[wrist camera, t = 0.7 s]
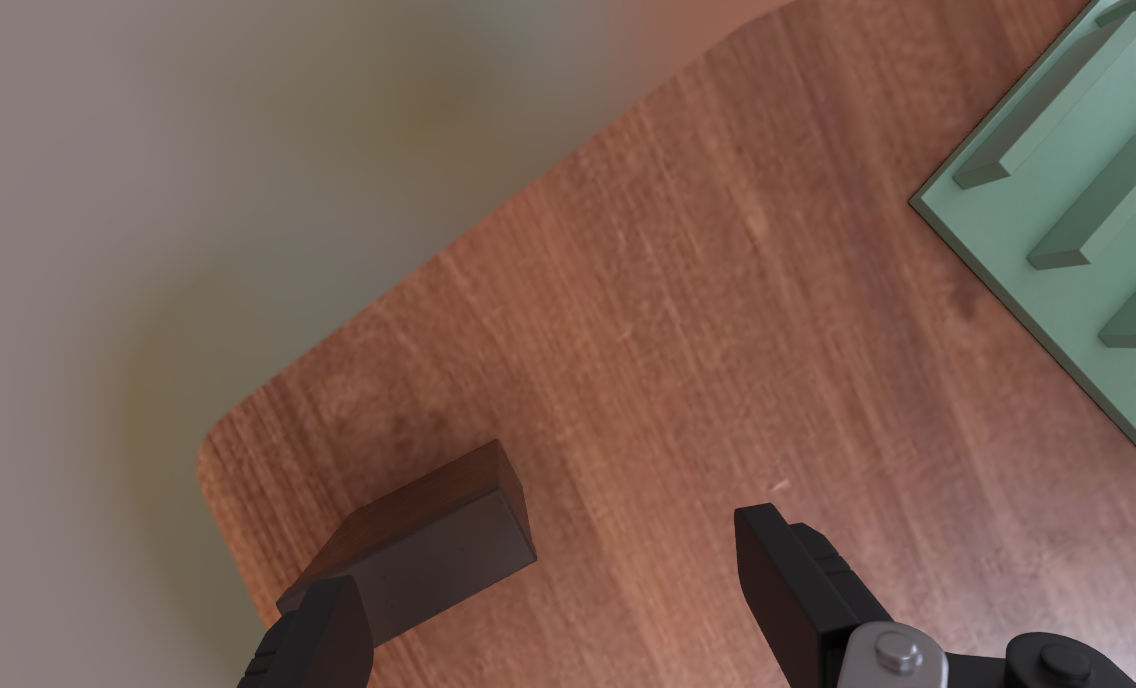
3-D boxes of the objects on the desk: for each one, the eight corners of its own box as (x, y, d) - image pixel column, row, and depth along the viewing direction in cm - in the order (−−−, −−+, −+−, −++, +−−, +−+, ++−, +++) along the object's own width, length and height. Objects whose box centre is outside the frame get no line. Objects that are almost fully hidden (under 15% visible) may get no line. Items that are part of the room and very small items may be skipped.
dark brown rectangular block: (375, 566, 30) (315, 682, 20) (347, 514, 29) (272, 604, 20) (524, 488, 30) (538, 561, 21) (498, 436, 30) (500, 486, 20)
